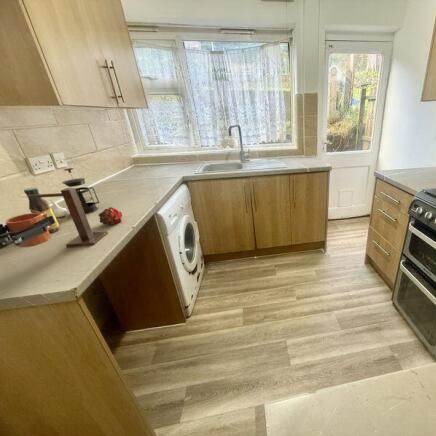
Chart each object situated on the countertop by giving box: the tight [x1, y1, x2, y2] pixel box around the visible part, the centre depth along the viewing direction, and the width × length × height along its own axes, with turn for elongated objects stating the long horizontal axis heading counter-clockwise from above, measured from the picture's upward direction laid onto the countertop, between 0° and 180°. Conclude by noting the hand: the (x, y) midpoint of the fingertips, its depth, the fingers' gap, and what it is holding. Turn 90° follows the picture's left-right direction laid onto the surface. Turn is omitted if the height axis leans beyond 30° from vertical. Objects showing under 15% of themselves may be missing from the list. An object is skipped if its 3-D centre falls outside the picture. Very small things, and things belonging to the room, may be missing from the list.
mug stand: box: [26, 187, 109, 249], centre depth 95 cm, size 19×10×22 cm, turn 97°
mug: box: [4, 212, 52, 248], centre depth 84 cm, size 12×8×9 cm, turn 7°
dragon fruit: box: [98, 206, 123, 226], centre depth 114 cm, size 8×8×12 cm
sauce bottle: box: [23, 187, 61, 234], centre depth 105 cm, size 6×6×20 cm
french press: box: [62, 167, 100, 215], centre depth 126 cm, size 12×9×23 cm
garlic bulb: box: [51, 200, 69, 219], centre depth 124 cm, size 6×6×8 cm
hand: (38, 220), depth 86 cm, fingers closed on mug, 8 cm apart
